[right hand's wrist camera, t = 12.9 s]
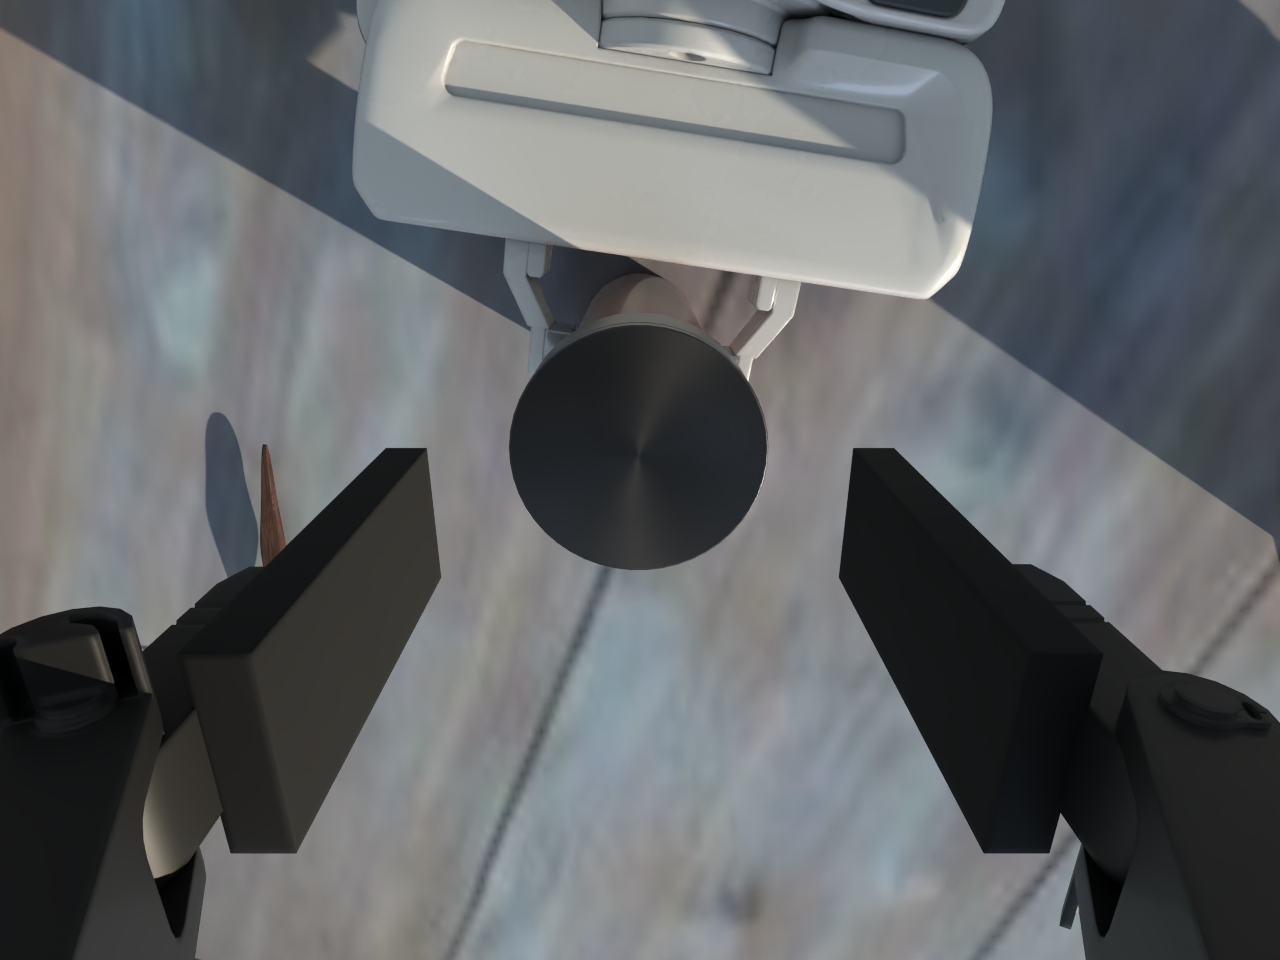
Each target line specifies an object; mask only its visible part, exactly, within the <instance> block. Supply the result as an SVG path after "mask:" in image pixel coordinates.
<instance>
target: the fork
mask: <svg viewBox="0 0 1280 960" xmlns="http://www.w3.org/2000/svg"><path fill="white" fill-rule="evenodd" d="M260 546H261V556H262V562H263V567H265V566H266V565H267V564H268V563H269V562H271V561H272V560H273V559H274V558H275V557H276V556H277V555H278V554H279V553H280V552H281V551H282V550H283V549H284V548H285V547H286V545H285V538H284V533H283V528H282V523H281V518H280V513H279V508H278V502H277V496H276V490H275V484H274V477H273V471H272V465H271V460H270V455H269V450H268V447H267V445H265V444H263V446H262V462H261V525H260Z"/></svg>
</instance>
